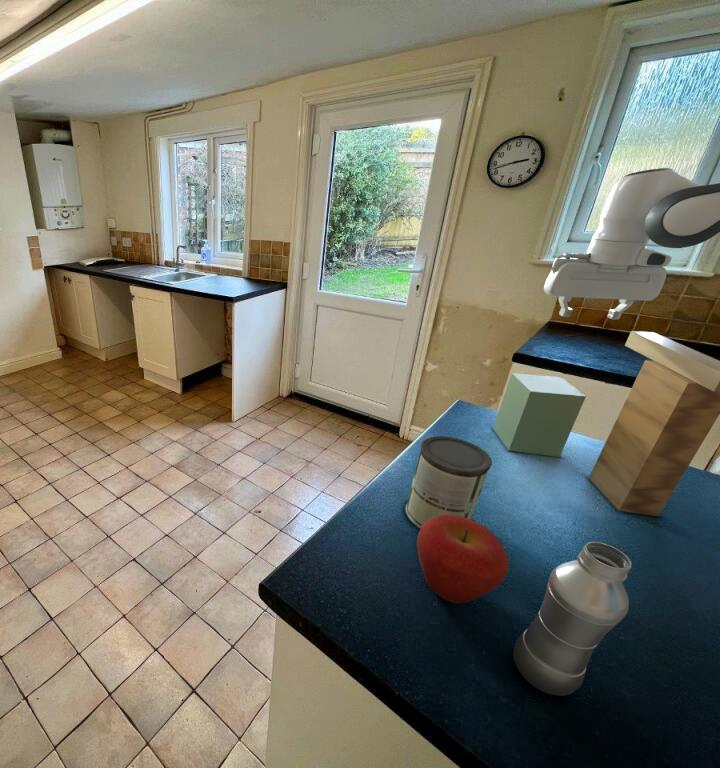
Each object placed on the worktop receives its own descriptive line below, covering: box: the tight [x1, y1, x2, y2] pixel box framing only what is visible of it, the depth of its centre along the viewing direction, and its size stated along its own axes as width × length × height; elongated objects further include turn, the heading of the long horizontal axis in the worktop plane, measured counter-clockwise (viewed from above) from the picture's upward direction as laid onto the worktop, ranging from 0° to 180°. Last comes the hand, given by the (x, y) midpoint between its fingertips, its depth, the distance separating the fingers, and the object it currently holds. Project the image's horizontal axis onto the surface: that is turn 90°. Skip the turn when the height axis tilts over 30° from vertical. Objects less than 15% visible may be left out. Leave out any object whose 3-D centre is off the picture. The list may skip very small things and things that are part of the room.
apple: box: [416, 515, 510, 604], centre depth 58 cm, size 11×11×12 cm
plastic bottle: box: [512, 541, 632, 697], centre depth 46 cm, size 6×7×20 cm
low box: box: [492, 372, 587, 458], centre depth 94 cm, size 10×10×15 cm
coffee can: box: [405, 435, 493, 530], centre depth 72 cm, size 10×10×14 cm
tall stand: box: [588, 359, 720, 517], centre depth 74 cm, size 6×10×26 cm, turn 166°
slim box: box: [624, 330, 720, 392], centre depth 70 cm, size 4×21×3 cm, turn 166°
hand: (588, 317), depth 94 cm, fingers open, 8 cm apart
